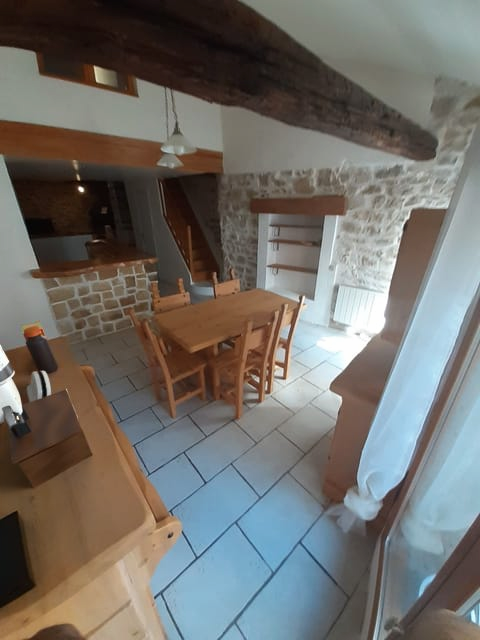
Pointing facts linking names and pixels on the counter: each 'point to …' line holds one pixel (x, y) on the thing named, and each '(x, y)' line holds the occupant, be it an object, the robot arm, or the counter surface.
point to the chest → (55, 459)
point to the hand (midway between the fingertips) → (22, 427)
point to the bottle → (40, 350)
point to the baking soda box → (33, 326)
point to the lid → (45, 425)
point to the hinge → (38, 386)
